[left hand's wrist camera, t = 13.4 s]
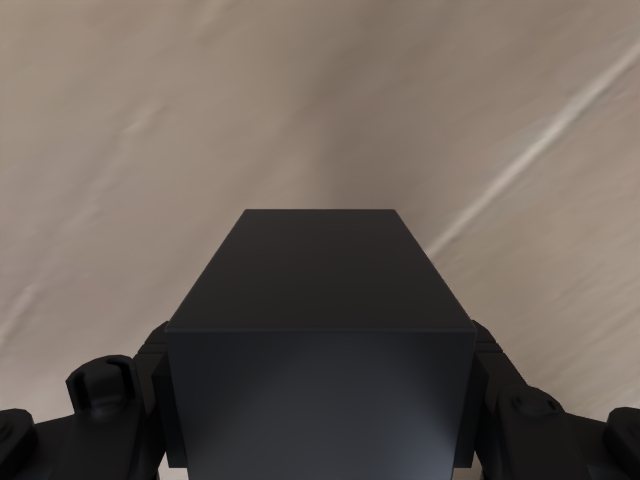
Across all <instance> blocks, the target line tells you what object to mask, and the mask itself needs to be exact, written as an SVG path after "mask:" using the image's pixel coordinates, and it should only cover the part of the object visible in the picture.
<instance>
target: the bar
mask: <svg viewBox="0 0 640 480" xmlns="http://www.w3.org/2000/svg"><path fill="white" fill-rule="evenodd" d="M164 334H165V340H166V346H167V352H168V358H169V364H170V370H171V376H172V382H173V388H174V394H175V400H176V406H177V412H178V418H179V424H180V430H181V436H182V442H183V448H184V454H185V460H186V466H187V472H188V478H189V480H452V476H453V470H454V464H455V458H456V452H457V447H458V441H459V435H460V429H461V423H462V417H463V412H464V406H465V400H466V394H467V388H468V383H469V377H470V371H471V365H472V359H473V353H474V348H475V342H476V336H477V328H476V326H475V325H474V323H473V322H472V320H471V319H470V318H469V316H468V315H467V313H466V312H465V310H464V309H463V307H462V306H461V305H460V303H459V302H458V300H457V299H456V297H455V296H454V294H453V293H452V292H451V290H450V289H449V287H448V286H447V284H446V283H445V281H444V280H443V279H442V277H441V276H440V274H439V273H438V271H437V270H436V268H435V267H434V266H433V264H432V263H431V261H430V260H429V258H428V257H427V255H426V254H425V253H424V251H423V250H422V248H421V247H420V245H419V244H418V242H417V241H416V240H415V238H414V237H413V235H412V234H411V232H410V231H409V229H408V228H407V227H406V225H405V224H404V222H403V221H402V219H401V218H400V216H399V215H398V214H397V212H396V211H395V210H394V209H246V210H245V211H244V212H243V214H242V215H241V216H240V218H239V219H238V221H237V222H236V224H235V225H234V227H233V228H232V230H231V231H230V233H229V234H228V236H227V237H226V239H225V240H224V241H223V243H222V244H221V246H220V247H219V249H218V250H217V252H216V253H215V255H214V256H213V258H212V259H211V261H210V262H209V263H208V265H207V266H206V268H205V269H204V271H203V272H202V274H201V275H200V277H199V278H198V280H197V281H196V283H195V284H194V285H193V287H192V288H191V290H190V291H189V293H188V294H187V296H186V297H185V299H184V300H183V302H182V303H181V305H180V306H179V308H178V309H177V310H176V312H175V313H174V315H173V316H172V318H171V319H170V321H169V322H168V324H167V325H166V327H165V329H164Z"/></svg>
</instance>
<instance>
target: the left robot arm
mask: <svg viewBox="0 0 640 480" xmlns="http://www.w3.org/2000/svg"><path fill="white" fill-rule="evenodd" d="M168 322H169V321H166V322H164V323H163V324H162V325H160V326H159V327H157V328H156V329H155V330H153V331H152V333H151V334H150V335H149V337H148V338H147V339H146V341H145V344H143V345H142V346H141V348H140V349H139V351H138V354H136V355H135V356H134V358H133V359H132V358H131V357H128V356H124V355H108V356H104V357H100V358H97V359H94V360H92V361H90V362H87V363H85V364H83V365H82V366H80V367H79V368H77V369H76V370H75V371H73V372H72V373H71V374H70V376H69V377H68V378H67V380H66V381H65V382H66V385H67V388H68V392H69V395H70V398H71V402H72V405H73V409H74V412H75V413H74V414H73V415H70V416H66V417H62V418H58V419H54V420H49V421H45V422H41V423H37V424H34V421H33V418H32V415H31V414H30V413H29V412H27V411H26V410H23V409H16V408H14V409H8V410H2V411H0V480H160V477H159V472H158V468H159V465H160V463H161V461H162V458H163V456H164V454H165V452H166V455H167V460H168V465H169V468H187V466H186V460H185V454H184V448H183V442H182V436H181V430H180V424H179V418H178V412H177V406H176V400H175V394H174V388H173V382H172V376H171V370H170V364H169V358H168V352H167V346H166V340H165V334H164V329H165V327H166V325H167V324H168ZM472 322H473V323H474V325H475V326H476V328H477V336H476V342H475V348H474V353H473V359H472V365H471V371H470V377H469V383H468V388H467V394H466V400H465V406H464V412H463V417H462V423H461V429H460V435H459V441H458V447H457V452H456V458H455V464H454V468H471V467H472V462H473V456H474V451H476V454H477V456H478V458H479V461H480V463H481V465H482V472H481V477H480V480H640V409H636V408H630V407H621V408H615V409H614V410H613V411H612V412H610V413H609V416H608V419H607V422H602V421H598V420H593V419H589V418H585V417H580V416H576V415H573V414H569V413H566V412H565V411H564V409H563V408H562V406H561V405H560V403H559V402H558V401H556V400H555V399H554V398H553V397H552V396H550V395H549V394H547V393H545V392H543V391H542V390H540V389H538V388H535V387H531V386H528V385H527V383H526V382H525V380H524V379H523V378H522V376H521V375H520V374H519V372H518V371H517V369H516V368H515V367H514V365H513V364H512V363H511V361H510V360H509V358H508V357H507V356H506V354H505V353H503V350H502V349H501V347H500V346H499V345H498V343H496V340H495V339H494V338H493V336H492V335H491V334H490V332H489V331H488V329H486V328H485V327H483V326H482V325H480V324H479V323H478V322H476V321H475V320H472Z"/></svg>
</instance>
